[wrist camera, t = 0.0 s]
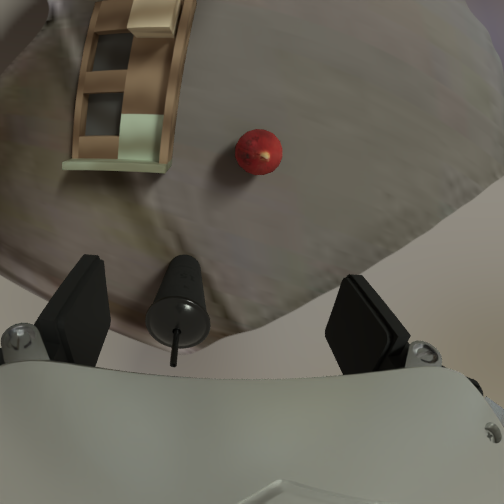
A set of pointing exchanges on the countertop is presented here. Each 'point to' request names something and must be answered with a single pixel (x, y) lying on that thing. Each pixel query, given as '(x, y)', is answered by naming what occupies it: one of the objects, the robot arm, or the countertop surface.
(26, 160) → the countertop surface
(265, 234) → the countertop surface
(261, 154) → the onion
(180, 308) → the drinking cup
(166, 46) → the track
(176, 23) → the block
